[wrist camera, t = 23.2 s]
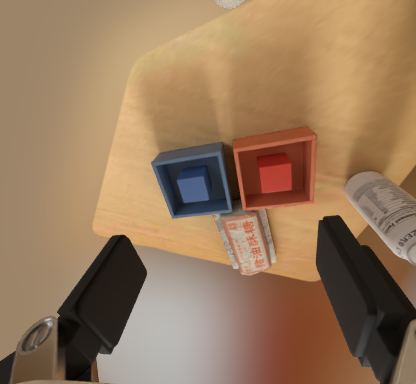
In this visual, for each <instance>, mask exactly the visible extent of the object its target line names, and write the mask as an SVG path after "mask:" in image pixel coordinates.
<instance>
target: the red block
mask: <svg viewBox="0 0 416 384" xmlns="http://www.w3.org/2000/svg"><path fill="white" fill-rule="evenodd" d="M257 166H258V175H259V182H260V187H261V192H262V193H269V192H277V191H286V190H292V171H291V162H290V160H289V158H288V157H287V155H286V153H285V152H283V153H276V154H270V155H264V156H258V157H257Z"/></svg>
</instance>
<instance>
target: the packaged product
mask: <svg viewBox="0 0 416 384" xmlns="http://www.w3.org/2000/svg"><path fill="white" fill-rule="evenodd" d="M213 216H214V219H215V222H216V224H217V227H218V229H219V232H220V234H221V237H222V240H223V242H224V245H225V247H226V250H227V252H228V255H229V258H230V260H231V263H232V265H233V268H234V269H238V268H239V269H240V272H241V274H245V275H254V274H255V273H258V272H261V271H265V270H267V269H269V268H271V265H272V263H277V260H276V254H275V249H274V246H273V242H272V238H271V233H270V228H269V224H268V219H267V215H266V210H265V209H258V210H248V211H243V207H242V201H241V199H240V200H235V201H233V212H229V213H219V214H213Z"/></svg>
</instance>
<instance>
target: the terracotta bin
mask: <svg viewBox="0 0 416 384" xmlns="http://www.w3.org/2000/svg"><path fill="white" fill-rule="evenodd" d="M316 138H317V135H316V134H315V133H314V132H313V131H311V130H310V129H309V128H308V127H301V128H296V129H290V130H285V131H279V132H273V133H268V134H262V135H257V136H251V137H246V138H240V139H235V140H233V152H234V159H235V165H236V171H237V177H238V183H239V189H240V195H241V201H242V207H243V211H248V210H258V209H267V208H276V207H286V206H295V205H305V204H314V183H315V160H316ZM283 152H285V153H286V155H287V157H288V158H289V160H290V162H291V171H292V190H286V191H277V192H269V193H262V192H261V187H260V182H259V175H258V166H257V157H258V156H264V155H270V154H276V153H283Z"/></svg>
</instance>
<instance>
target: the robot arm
mask: <svg viewBox="0 0 416 384" xmlns="http://www.w3.org/2000/svg"><path fill="white" fill-rule="evenodd" d="M316 266H317V270H318V272H319V275H320V277H321V280H322V282H323V284H324V287H325V290H326V292H327V295H328V297H329V300H330V302H331V305H332V307H333V310H334V312H335V315H336V317H337V320H338V322H339V325H340V327H341V330H342V332H343V335H344V337H345V340H346V342H347V345H348V347H349V350H350V352H351V354H352V355H353V356H354V357H358V359H359V361H360V363H361V366H362V367H371V368H372V370H373V372H374V374H375V377H376V379H377V380H378V381H380V384H416V309H415V308H414V306H413V305H412V303H411V302H410V301H409V299H408V298H407V297H406V295H405V294H404V293H403V291H402V290H401V289H400V287H399V286H398V284H397V283H396V282H395V280H394V279H393V278H392V277H391V275H390V274H389V273H388V271H387V270H386V268H385V267H384V266H383V264H382V263H381V261H380V260H379V259H378V257H377V256H376V255H375V253H374V252H373V251H372V249H371V248H370V247H368V246H367V245H362V246H361V245H360V244H359V243H358V241H357V240H356V238H355V237H354V235H353V234H352V232H351V231H350V229H349V228H348V227H347V225H346V224H345V222H344V221H343V219H342V218H341V217H340V216H339V215H336V216H325V217H324V218H323V220H319V225H318V239H317V253H316ZM146 276H147V270H146V268H145V266H144V265H143V263H142V261H141V259H140V257H139V256H138V254H137V252H136V250H135V249H134V247H133V245H132V243H131V241H130V239H129V238H128V237H126V236H125V235H114V236H112V237H111V238H110V239H109V241H108V242H107V244H106V245H105V246H104V248H103V249H102V251H101V252H100V253H99V255H98V256H97V257H96V259H95V260H94V262H93V263H92V264H91V266H90V267H89V268H88V270H87V271H86V273H85V274H84V275H83V277H82V278H81V279H80V281H79V282H78V284H77V285H76V286H75V288H74V289H73V290H72V292H71V293H70V295H69V296H68V297H67V299H66V300H65V302H64V303H63V305H62V306H61V307H60V308H59V310H58V312H57V313H58V314H59V315H60V316H59V317H58V319H57V318H55V317H53V316H49V317H45V318H43V319H41V320H39V321H38V322H36V323H35V324H34V325H32V326H31V327H30V328H29V329H28V330H27V331H26V332H25V334H24V335H23V336H22V338H21V339H20V341H19V342H18V345H17V348H16V351H15V352H13V353H12V354H10V355H9V356H7V357H6V358H4V359H3V360H1V361H0V384H109V383H99V379H98V371H97V362H96V357H97V355H98V353H100V354H111V353H112V351H113V349H114V347H115V346H116V345H117V344H118V342H119V340H120V337H121V335H122V333H123V330H124V328H125V326H126V323H127V320H128V319H129V316H130V314H131V312H132V309H133V307H134V304H135V302H136V300H137V297H138V295H139V293H140V290H141V288H142V286H143V283H144V281H145V278H146Z"/></svg>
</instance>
